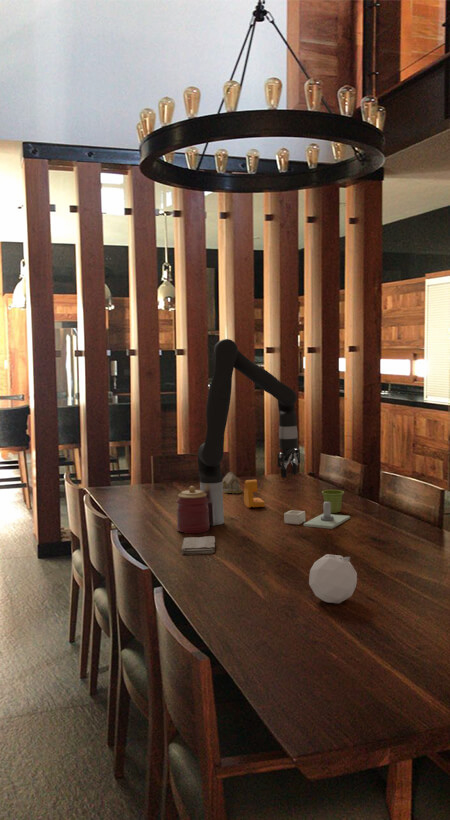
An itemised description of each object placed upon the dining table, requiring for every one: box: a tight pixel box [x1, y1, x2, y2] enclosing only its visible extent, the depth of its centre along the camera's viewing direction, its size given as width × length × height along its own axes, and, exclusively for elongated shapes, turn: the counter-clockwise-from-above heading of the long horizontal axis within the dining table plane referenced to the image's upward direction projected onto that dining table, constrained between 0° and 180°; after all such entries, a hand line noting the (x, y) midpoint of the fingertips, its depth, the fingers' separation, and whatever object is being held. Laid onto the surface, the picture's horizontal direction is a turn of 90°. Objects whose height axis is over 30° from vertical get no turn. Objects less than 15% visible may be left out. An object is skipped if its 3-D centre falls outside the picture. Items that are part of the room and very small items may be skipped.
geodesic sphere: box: [308, 553, 358, 604], centre depth 213 cm, size 14×14×14 cm
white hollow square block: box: [283, 509, 306, 525], centre depth 311 cm, size 6×6×4 cm
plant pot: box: [321, 489, 345, 514], centre depth 328 cm, size 9×9×9 cm
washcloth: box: [181, 535, 216, 555], centre depth 275 cm, size 12×18×3 cm, turn 2°
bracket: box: [243, 479, 265, 509], centre depth 344 cm, size 11×7×12 cm, turn 10°
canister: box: [175, 485, 211, 534], centre depth 301 cm, size 13×13×18 cm
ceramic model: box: [222, 471, 243, 494], centre depth 381 cm, size 14×11×10 cm
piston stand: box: [302, 502, 351, 530], centre depth 309 cm, size 20×12×8 cm, turn 150°
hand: (289, 476), depth 315 cm, fingers open, 8 cm apart
